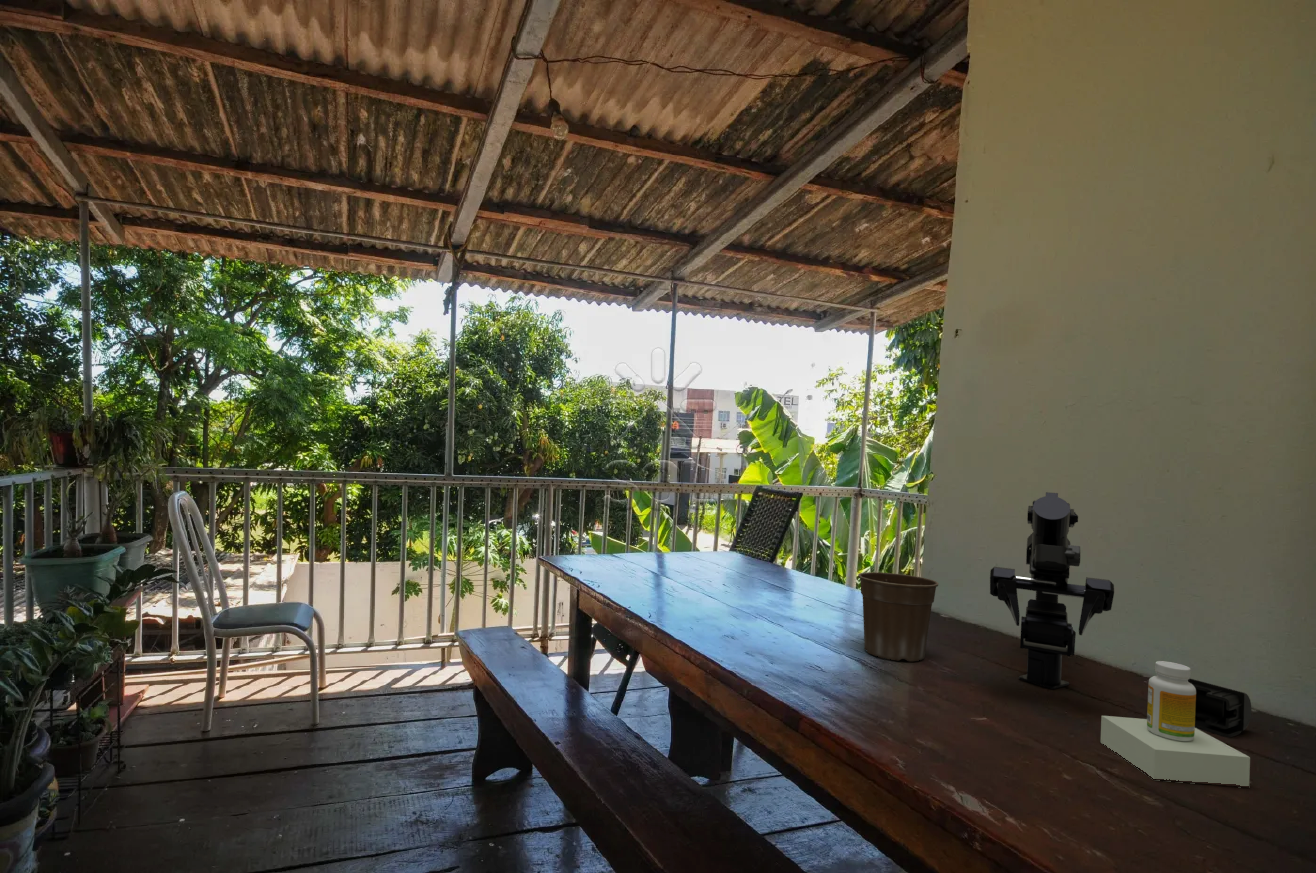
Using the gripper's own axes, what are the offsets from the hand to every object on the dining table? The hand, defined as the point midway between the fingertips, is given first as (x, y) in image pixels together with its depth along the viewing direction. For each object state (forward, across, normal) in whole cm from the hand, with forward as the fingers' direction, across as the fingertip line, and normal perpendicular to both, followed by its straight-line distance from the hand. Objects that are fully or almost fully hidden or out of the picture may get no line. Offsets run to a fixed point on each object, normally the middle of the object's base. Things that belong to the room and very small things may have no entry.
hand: (1048, 629), depth 115 cm
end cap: (+3, +23, +18) cm, 29 cm away
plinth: (+19, +15, 0) cm, 24 cm away
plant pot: (-4, -28, +24) cm, 37 cm away
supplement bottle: (+16, +15, -2) cm, 22 cm away
